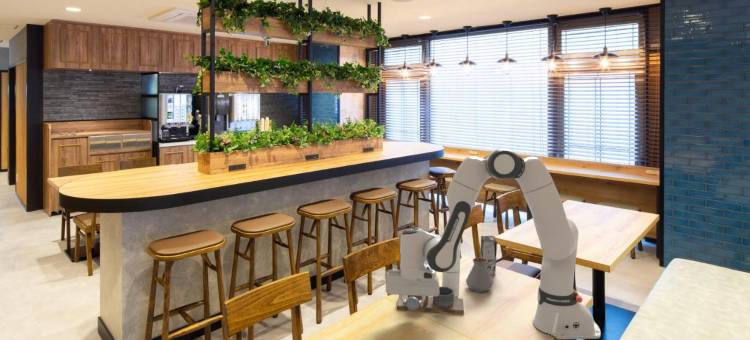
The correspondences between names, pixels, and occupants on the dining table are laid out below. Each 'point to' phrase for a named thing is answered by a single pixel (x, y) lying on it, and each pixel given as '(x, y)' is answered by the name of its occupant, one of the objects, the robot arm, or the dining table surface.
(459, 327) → the dining table surface
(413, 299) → the slate ball
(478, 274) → the coffee pot
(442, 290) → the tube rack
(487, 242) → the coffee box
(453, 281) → the cylindrical container
